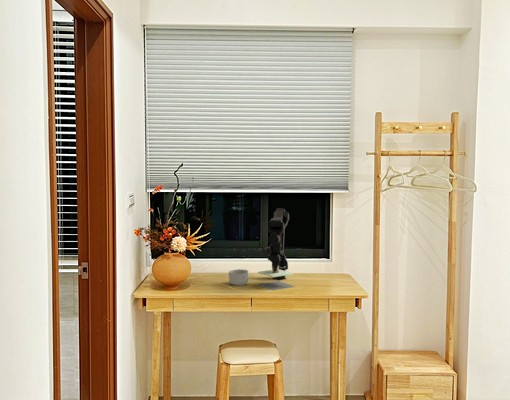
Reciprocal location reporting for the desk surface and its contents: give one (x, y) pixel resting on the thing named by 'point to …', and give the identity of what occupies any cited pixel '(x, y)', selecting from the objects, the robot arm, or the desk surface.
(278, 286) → the mat
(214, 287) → the desk surface
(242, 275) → the teacup
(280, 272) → the lid
